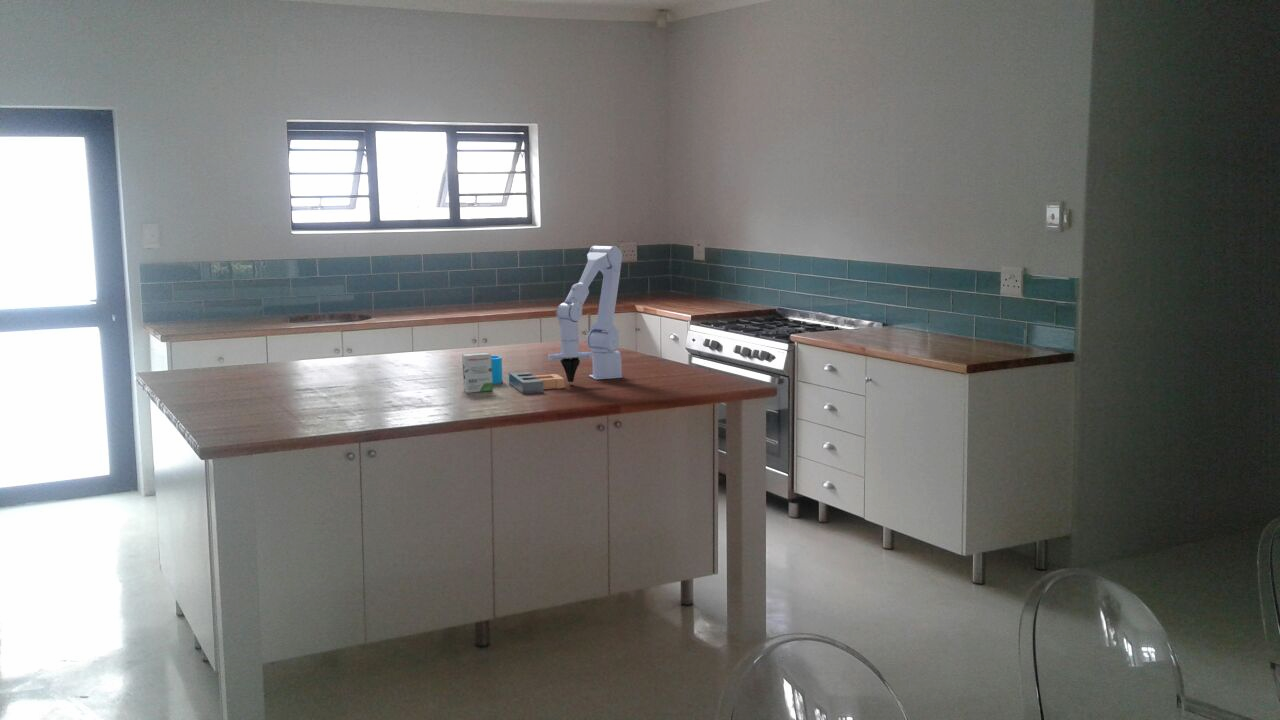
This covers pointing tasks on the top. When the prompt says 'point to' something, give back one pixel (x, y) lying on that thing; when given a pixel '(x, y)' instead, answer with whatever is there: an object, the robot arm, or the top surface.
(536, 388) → the grey hollow block
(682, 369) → the top surface
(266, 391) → the top surface
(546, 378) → the clip
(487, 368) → the ink box
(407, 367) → the top surface
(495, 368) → the blue cylinder
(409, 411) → the top surface
